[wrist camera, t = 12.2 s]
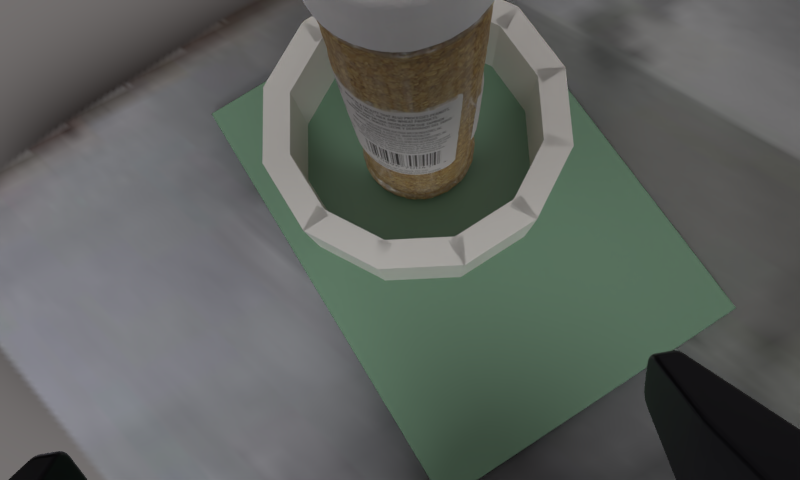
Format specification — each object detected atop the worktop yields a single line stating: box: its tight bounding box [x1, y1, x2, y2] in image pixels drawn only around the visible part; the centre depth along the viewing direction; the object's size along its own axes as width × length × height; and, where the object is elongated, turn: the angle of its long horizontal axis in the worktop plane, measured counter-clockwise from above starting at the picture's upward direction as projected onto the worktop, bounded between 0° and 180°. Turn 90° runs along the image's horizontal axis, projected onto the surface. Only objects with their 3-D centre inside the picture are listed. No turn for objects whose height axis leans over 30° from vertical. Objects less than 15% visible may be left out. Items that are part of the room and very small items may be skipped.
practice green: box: [212, 0, 736, 480], centre depth 22 cm, size 18×13×4 cm
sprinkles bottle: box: [302, 0, 495, 200], centre depth 17 cm, size 5×5×14 cm
